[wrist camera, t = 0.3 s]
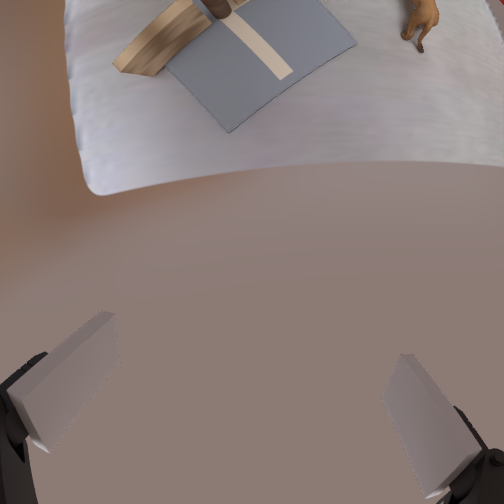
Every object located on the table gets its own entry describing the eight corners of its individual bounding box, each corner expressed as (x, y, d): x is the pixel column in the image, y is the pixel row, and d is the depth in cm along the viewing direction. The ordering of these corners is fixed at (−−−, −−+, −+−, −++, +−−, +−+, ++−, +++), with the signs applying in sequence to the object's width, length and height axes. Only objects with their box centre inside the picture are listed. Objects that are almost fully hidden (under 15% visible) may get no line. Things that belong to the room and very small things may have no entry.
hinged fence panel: (204, 16, 24) (183, -6, 17) (212, 23, 24) (193, 2, 17) (145, 69, 27) (112, 63, 20) (152, 76, 28) (120, 72, 21)
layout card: (263, -43, 19) (262, -45, 18) (356, 44, 25) (357, 43, 24) (144, 45, 26) (142, 44, 26) (229, 133, 32) (228, 133, 31)
